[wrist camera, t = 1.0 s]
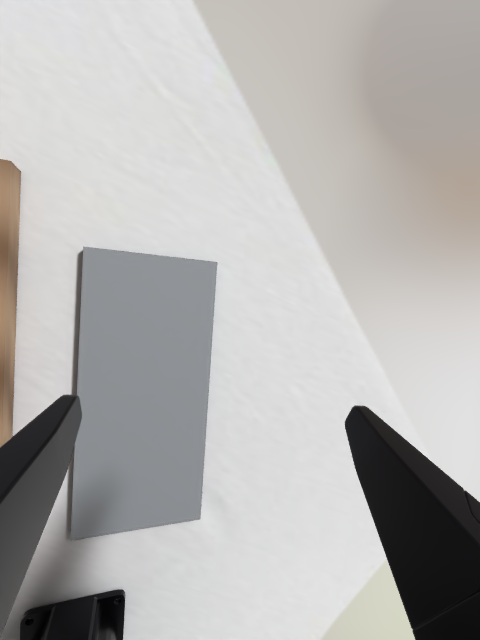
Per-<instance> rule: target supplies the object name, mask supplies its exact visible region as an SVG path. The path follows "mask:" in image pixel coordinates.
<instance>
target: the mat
mask: <svg viewBox="0 0 480 640" xmlns="http://www.w3.org/2000/svg"><path fill="white" fill-rule="evenodd" d="M216 271H217V262H211V261H202V260H194V259H185V258H176V257H168V256H159V255H150V254H142V253H133V252H125V251H116V250H107V249H99V248H90V247H83V266H82V289H81V312H80V335H79V358H78V380H77V395H78V396H79V398H80V404H81V410H82V420H81V424H80V427H79V431H78V434H77V438H76V442H75V449H74V472H73V495H72V518H71V540H77V539H83V538H89V537H96V536H102V535H108V534H114V533H120V532H126V531H132V530H138V529H144V528H150V527H156V526H162V525H168V524H174V523H181V522H187V521H193V520H199V519H200V514H201V499H202V484H203V469H204V454H205V439H206V423H207V408H208V393H209V378H210V363H211V347H212V332H213V317H214V302H215V287H216Z"/></svg>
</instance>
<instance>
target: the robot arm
mask: <svg viewBox="0 0 480 640" xmlns="http://www.w3.org/2000/svg"><path fill="white" fill-rule="evenodd" d="M81 420H82V410H81V404H80V398H79V396H78V395H63V396H61V397H60V398H59V399H57V400H56V401H55V402H54V403H53V404H51V405H50V406H49V407H48V408H47V409H45V410H44V411H43V412H42V413H41V414H39V415H38V416H37V417H36V418H35V419H33V420H32V421H31V422H30V423H29V424H27V425H26V426H25V427H24V428H23V429H22V430H20V431H19V432H18V433H17V434H16V435H14V436H13V437H12V438H11V439H10V440H8V441H7V442H6V443H5V444H4V445H2V446H1V447H0V636H1V634H2V631H3V629H4V626H5V624H6V621H7V619H8V616H9V614H10V611H11V609H12V606H13V604H14V601H15V599H16V597H17V594H18V592H19V589H20V587H21V584H22V582H23V579H24V577H25V574H26V572H27V569H28V567H29V564H30V562H31V559H32V557H33V555H34V552H35V550H36V547H37V545H38V542H39V540H40V537H41V535H42V532H43V530H44V527H45V525H46V522H47V520H48V517H49V515H50V513H51V510H52V508H53V505H54V503H55V500H56V498H57V495H58V493H59V490H60V488H61V485H62V483H63V480H64V478H65V475H66V472H67V470H68V466H69V463H70V459H71V456H72V452H73V449H74V445H75V442H76V438H77V434H78V431H79V427H80V424H81ZM345 429H346V433H347V437H348V441H349V445H350V449H351V453H352V457H353V461H354V465H355V468H356V472H357V475H358V478H359V481H360V483H361V486H362V489H363V492H364V495H365V498H366V500H367V503H368V506H369V509H370V512H371V515H372V517H373V520H374V523H375V526H376V529H377V532H378V534H379V537H380V540H381V543H382V546H383V548H384V551H385V554H386V557H387V560H388V563H389V565H390V568H391V571H392V574H393V577H394V579H395V582H396V585H397V588H398V591H399V594H400V597H401V599H402V602H403V605H404V608H405V611H406V614H407V616H408V619H409V622H410V625H411V628H412V629H413V634H414V637H415V640H480V502H478V501H477V500H476V499H475V498H474V497H473V496H471V495H470V494H469V493H468V492H467V491H464V489H463V488H462V487H461V486H460V485H458V484H457V483H456V482H455V481H454V480H453V479H451V478H450V477H449V476H448V475H447V474H445V473H444V472H443V471H442V470H441V469H440V468H438V467H437V466H436V465H435V464H434V463H432V462H431V461H430V460H429V459H428V458H427V457H425V456H424V455H423V454H422V453H421V452H420V451H418V450H417V449H416V448H415V447H414V446H412V445H411V444H410V443H409V442H408V441H407V440H405V439H404V438H403V437H402V436H401V435H399V434H398V433H397V432H396V431H395V430H394V429H392V428H391V427H390V426H389V425H388V424H386V423H385V422H384V421H383V420H382V419H381V418H379V417H378V416H377V415H376V414H375V413H373V412H372V411H371V410H370V409H369V408H367V407H366V406H354V407H352V409H351V411H350V413H349V415H348V416H347V418H346V420H345ZM117 598H120V599H118V600H116V599H117ZM124 610H125V592H124V591H123V590H115V591H111V592H106V593H102V594H97V595H93V596H88V597H84V598H79V599H75V600H70V601H66V602H61V603H57V604H52V605H47V606H43V607H38V608H34V609H30V610H28V611H27V612H25V614H24V615H23V618H22V621H21V627H20V640H123V628H124ZM29 618H32V619H31V620H29Z"/></svg>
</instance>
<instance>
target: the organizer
mask: <svg viewBox="0 0 480 640" xmlns="http://www.w3.org/2000/svg"><path fill="white" fill-rule="evenodd" d="M20 184H21V171H20V170H19V169H18V168H17V167H16V166H15V165H14V164H13V163H12V162H11V161H8V160H2V159H0V447H1V446H2V445H4V444H5V443H6V442H7V441H8V440H10V439H11V438H12V427H13V397H14V366H15V336H16V306H17V275H18V245H19V215H20Z"/></svg>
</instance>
